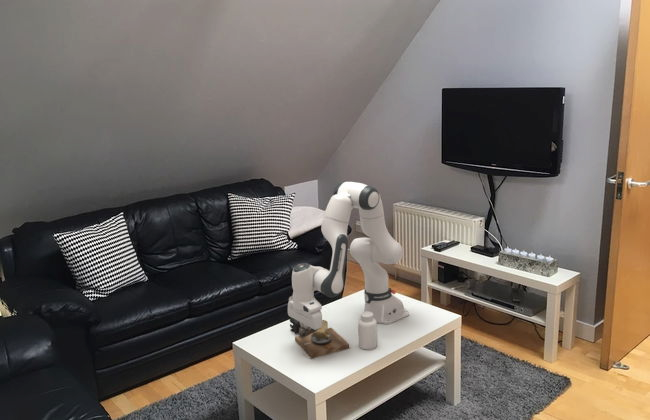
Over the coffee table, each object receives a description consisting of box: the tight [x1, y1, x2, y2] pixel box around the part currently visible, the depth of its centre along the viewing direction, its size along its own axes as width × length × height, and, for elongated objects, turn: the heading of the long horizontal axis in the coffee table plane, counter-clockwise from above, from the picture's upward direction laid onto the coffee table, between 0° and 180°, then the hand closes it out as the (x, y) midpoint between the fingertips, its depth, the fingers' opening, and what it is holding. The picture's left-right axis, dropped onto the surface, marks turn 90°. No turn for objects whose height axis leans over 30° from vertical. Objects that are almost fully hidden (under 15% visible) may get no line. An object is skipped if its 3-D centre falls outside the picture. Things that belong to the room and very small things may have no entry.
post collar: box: [311, 332, 332, 345], centre depth 246 cm, size 9×9×2 cm
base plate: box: [294, 327, 350, 359], centre depth 247 cm, size 18×18×2 cm
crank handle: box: [298, 319, 330, 339], centre depth 241 cm, size 16×10×8 cm, turn 138°
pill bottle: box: [357, 311, 378, 351], centre depth 242 cm, size 8×8×15 cm
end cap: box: [289, 317, 310, 335], centre depth 260 cm, size 10×7×7 cm
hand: (305, 331), depth 240 cm, fingers closed
